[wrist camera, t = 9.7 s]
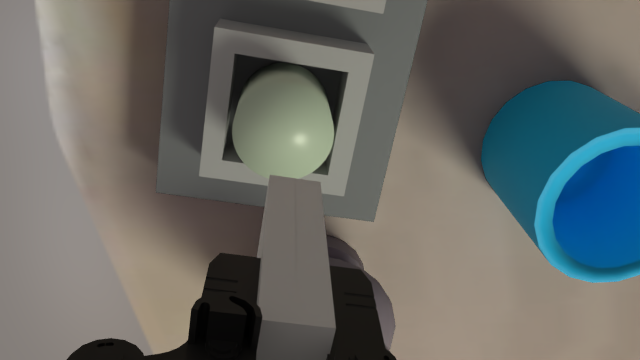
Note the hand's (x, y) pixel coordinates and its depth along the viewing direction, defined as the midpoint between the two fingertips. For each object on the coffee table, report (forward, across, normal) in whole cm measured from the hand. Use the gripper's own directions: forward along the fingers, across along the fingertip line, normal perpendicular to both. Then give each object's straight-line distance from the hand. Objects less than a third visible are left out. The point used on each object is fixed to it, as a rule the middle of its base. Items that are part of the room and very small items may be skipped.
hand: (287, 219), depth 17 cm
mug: (+17, +18, -2) cm, 24 cm away
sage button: (+12, 0, -1) cm, 12 cm away
